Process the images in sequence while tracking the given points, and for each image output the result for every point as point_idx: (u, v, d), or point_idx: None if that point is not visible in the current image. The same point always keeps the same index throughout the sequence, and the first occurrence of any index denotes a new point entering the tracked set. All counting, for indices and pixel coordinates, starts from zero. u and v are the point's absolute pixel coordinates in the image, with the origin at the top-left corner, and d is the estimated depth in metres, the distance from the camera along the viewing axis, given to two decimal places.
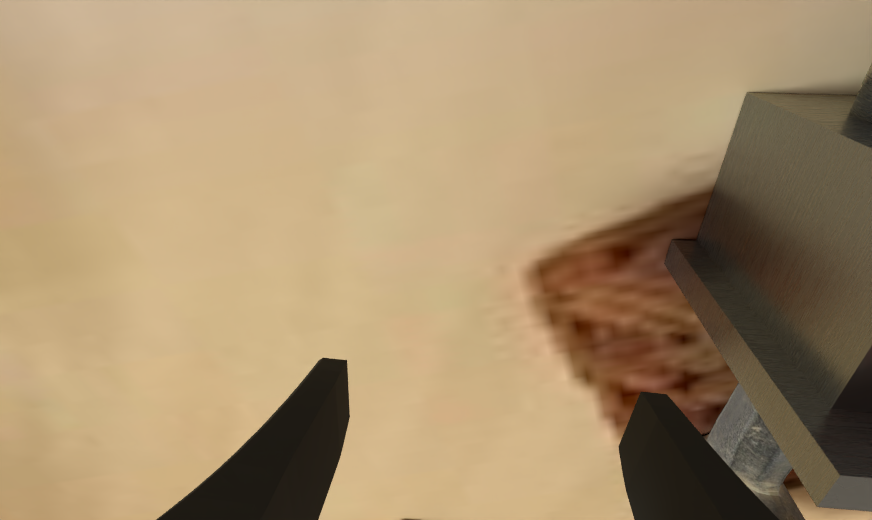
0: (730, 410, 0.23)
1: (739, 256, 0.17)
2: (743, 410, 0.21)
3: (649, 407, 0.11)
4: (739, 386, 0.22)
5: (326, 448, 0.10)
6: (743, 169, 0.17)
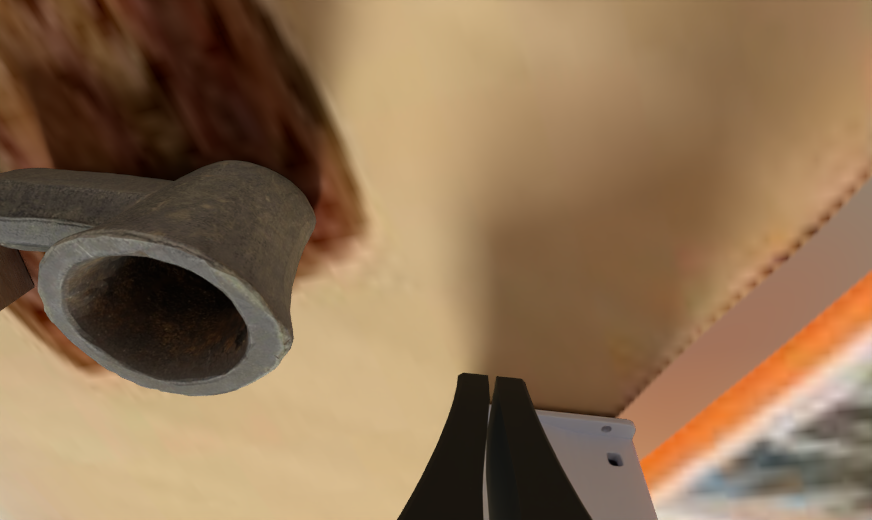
0: None
1: None
2: None
3: (497, 391, 0.11)
4: None
5: None
6: None
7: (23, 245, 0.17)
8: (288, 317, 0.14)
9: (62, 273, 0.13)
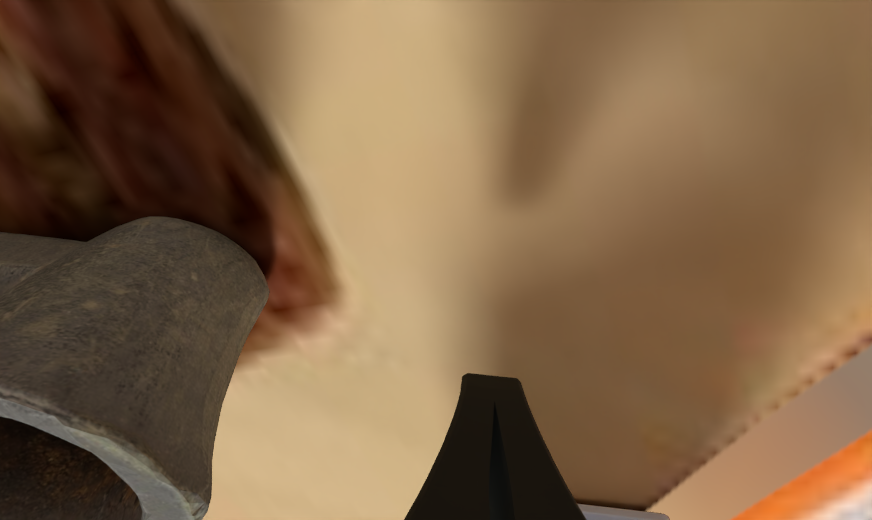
0: None
1: None
2: None
3: (493, 390, 0.11)
4: None
5: None
6: None
7: None
8: (204, 467, 0.10)
9: None
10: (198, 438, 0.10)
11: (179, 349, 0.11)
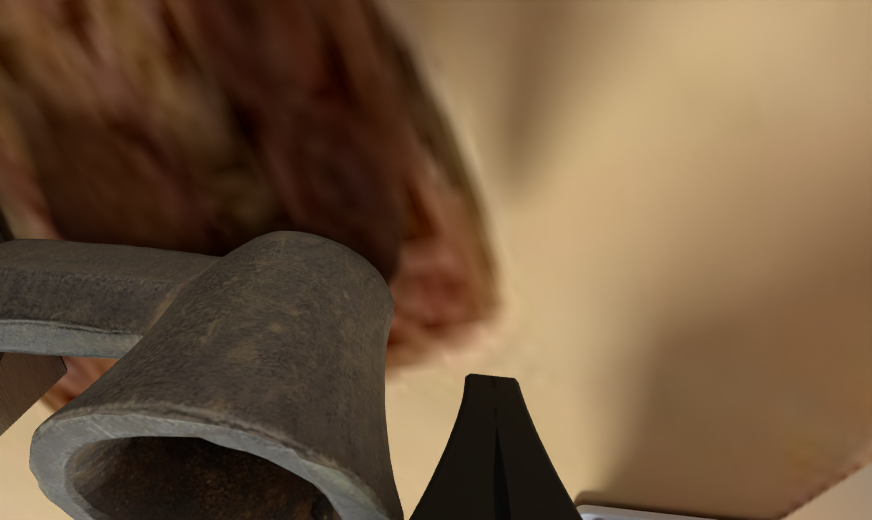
0: None
1: None
2: None
3: (490, 390, 0.11)
4: None
5: None
6: None
7: (11, 351, 0.13)
8: (396, 495, 0.10)
9: (67, 452, 0.08)
10: (386, 465, 0.10)
11: (354, 372, 0.11)
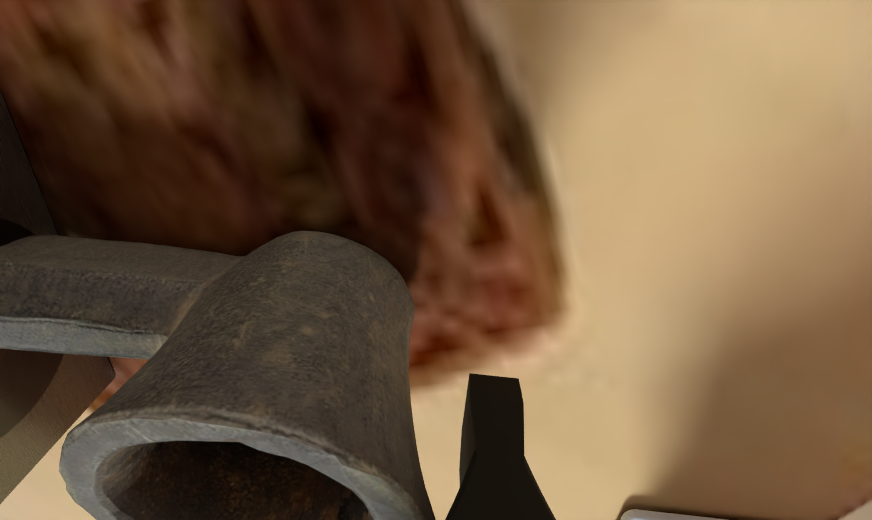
0: None
1: None
2: None
3: (469, 388, 0.11)
4: None
5: None
6: None
7: (29, 350, 0.12)
8: (428, 501, 0.10)
9: (100, 455, 0.08)
10: (418, 470, 0.10)
11: (384, 376, 0.11)
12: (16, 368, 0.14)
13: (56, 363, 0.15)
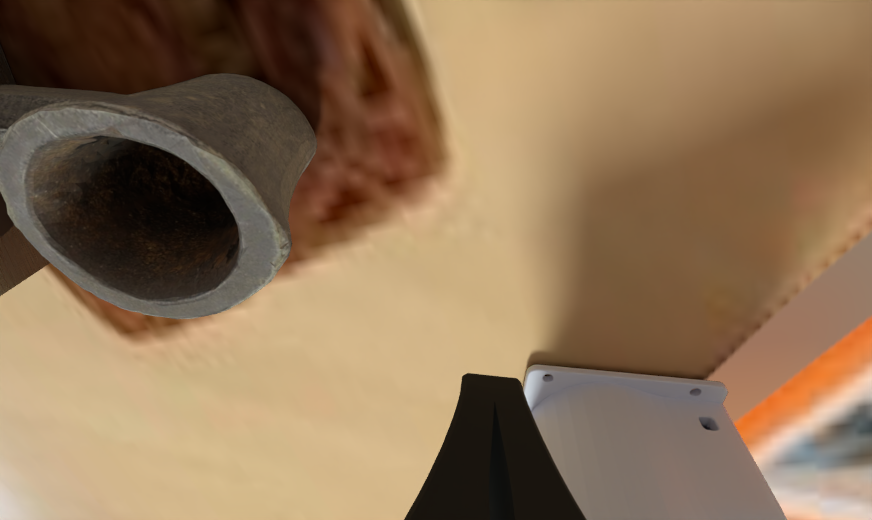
0: None
1: None
2: None
3: (493, 390, 0.11)
4: None
5: None
6: None
7: None
8: (285, 221, 0.12)
9: (24, 161, 0.11)
10: (279, 202, 0.13)
11: (259, 143, 0.13)
12: None
13: None
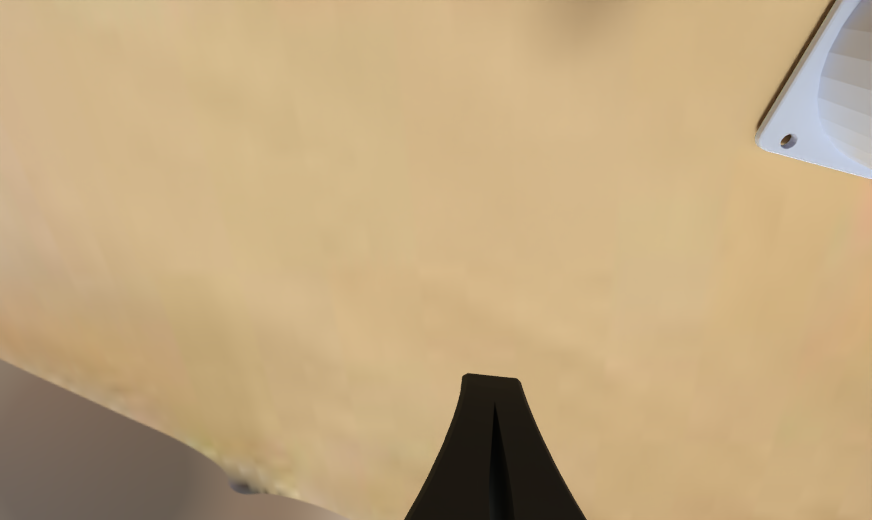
0: None
1: None
2: None
3: (493, 390, 0.11)
4: None
5: None
6: None
7: None
8: None
9: None
10: None
11: None
12: None
13: None
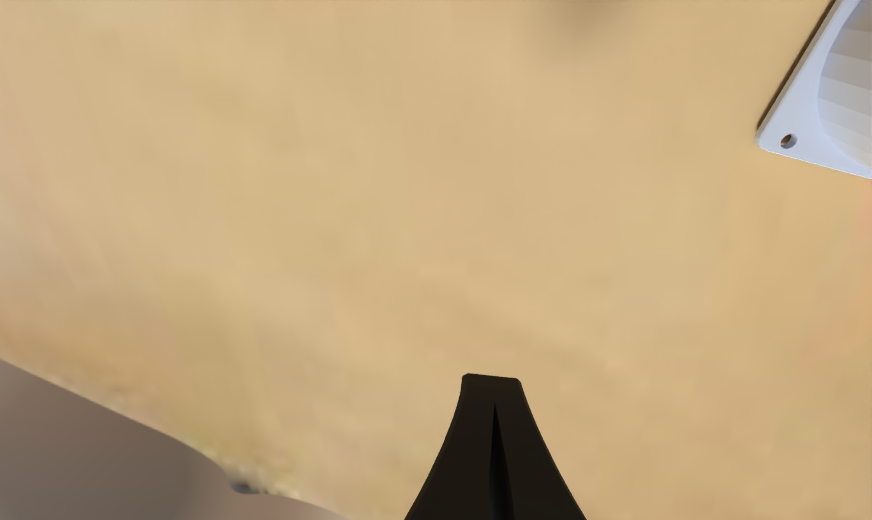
0: None
1: None
2: None
3: (493, 390, 0.11)
4: None
5: None
6: None
7: None
8: None
9: None
10: None
11: None
12: None
13: None
